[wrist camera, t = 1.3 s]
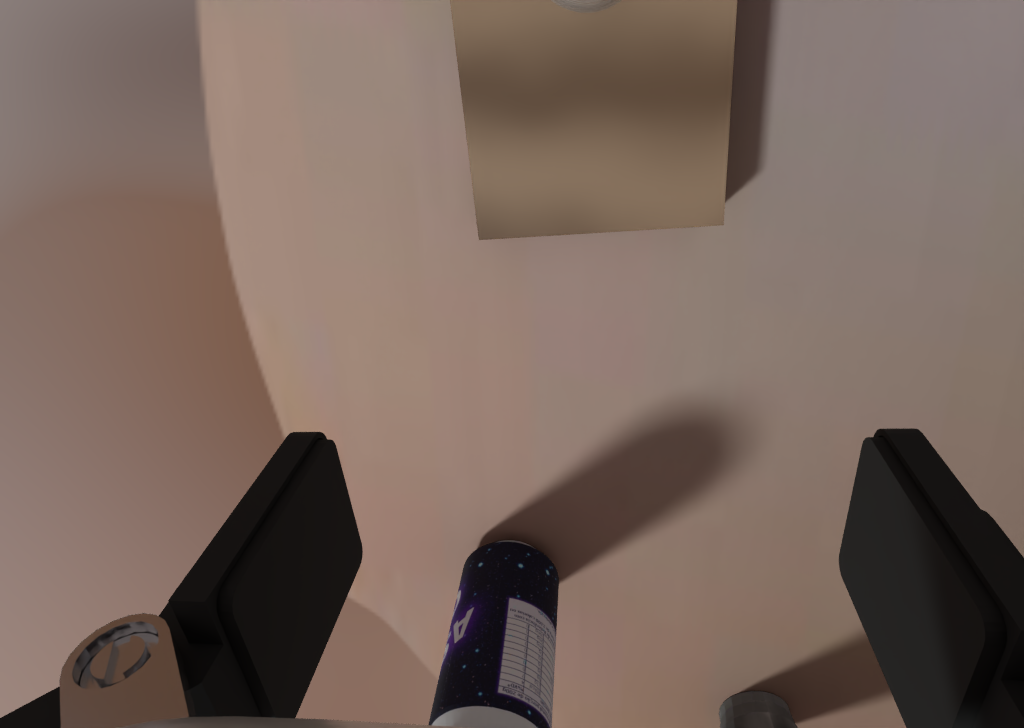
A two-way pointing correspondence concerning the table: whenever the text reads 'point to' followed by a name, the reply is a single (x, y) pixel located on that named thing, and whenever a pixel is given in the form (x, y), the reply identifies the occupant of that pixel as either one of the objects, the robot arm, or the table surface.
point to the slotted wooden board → (595, 114)
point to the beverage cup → (755, 711)
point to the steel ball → (586, 5)
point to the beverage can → (501, 642)
